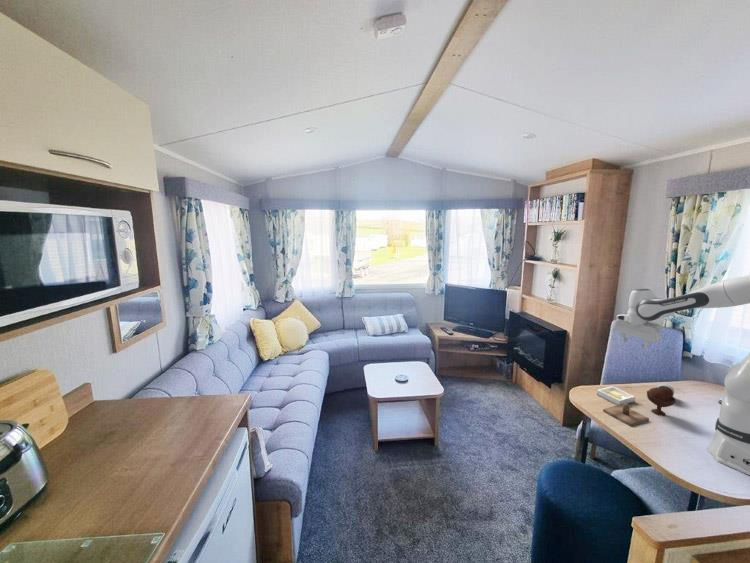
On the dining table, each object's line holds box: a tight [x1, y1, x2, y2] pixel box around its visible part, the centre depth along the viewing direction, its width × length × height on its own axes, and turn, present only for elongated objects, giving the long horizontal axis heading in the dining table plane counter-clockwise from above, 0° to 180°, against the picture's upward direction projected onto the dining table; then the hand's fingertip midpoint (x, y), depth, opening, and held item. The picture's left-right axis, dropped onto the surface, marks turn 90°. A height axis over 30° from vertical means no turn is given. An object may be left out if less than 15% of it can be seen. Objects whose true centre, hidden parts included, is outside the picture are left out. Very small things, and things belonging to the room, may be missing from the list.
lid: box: [602, 403, 650, 426], centre depth 154 cm, size 13×13×6 cm
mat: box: [603, 411, 649, 427], centre depth 154 cm, size 13×13×1 cm
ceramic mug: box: [647, 383, 675, 396], centre depth 170 cm, size 11×8×8 cm
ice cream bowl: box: [646, 386, 677, 417], centre depth 155 cm, size 11×11×15 cm
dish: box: [596, 386, 636, 406], centre depth 170 cm, size 12×12×3 cm
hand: (634, 344), depth 161 cm, fingers open, 8 cm apart
